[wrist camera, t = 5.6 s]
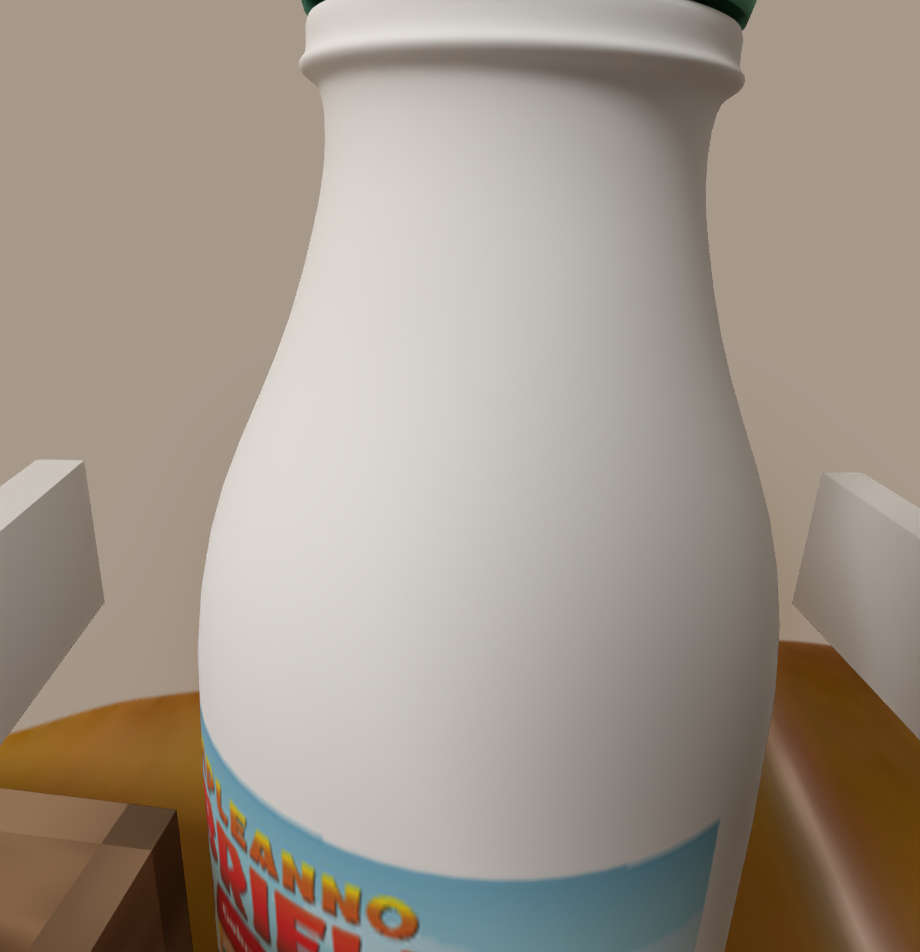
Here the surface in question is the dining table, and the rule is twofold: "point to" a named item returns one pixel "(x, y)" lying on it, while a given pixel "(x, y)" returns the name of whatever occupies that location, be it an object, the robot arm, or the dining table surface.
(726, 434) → the milk bottle
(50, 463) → the robot arm
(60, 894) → the walnut U-rest
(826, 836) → the dining table surface
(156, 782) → the dining table surface
